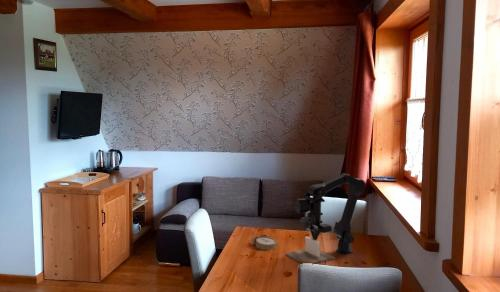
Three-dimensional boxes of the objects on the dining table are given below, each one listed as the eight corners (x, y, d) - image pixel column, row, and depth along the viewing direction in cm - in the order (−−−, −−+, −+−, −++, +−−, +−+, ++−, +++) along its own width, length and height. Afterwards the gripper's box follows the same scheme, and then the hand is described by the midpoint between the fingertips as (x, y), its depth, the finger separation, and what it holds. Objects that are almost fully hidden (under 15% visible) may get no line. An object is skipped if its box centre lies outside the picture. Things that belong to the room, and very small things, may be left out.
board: (313, 249, 206) (313, 247, 206) (334, 259, 193) (334, 257, 193) (285, 254, 197) (285, 253, 197) (305, 266, 183) (306, 263, 183)
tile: (307, 236, 199) (305, 236, 199) (320, 242, 191) (318, 242, 190) (307, 249, 200) (305, 249, 200) (320, 255, 192) (318, 256, 191)
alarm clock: (265, 246, 201) (247, 234, 212) (264, 255, 202) (246, 242, 213) (281, 242, 208) (263, 230, 219) (280, 250, 209) (262, 238, 220)
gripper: (291, 208, 198) (290, 238, 200) (315, 217, 182) (314, 249, 184) (308, 205, 204) (307, 234, 205) (332, 214, 188) (332, 245, 189)
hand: (314, 240), depth 196 cm, fingers closed, pressing on tile
